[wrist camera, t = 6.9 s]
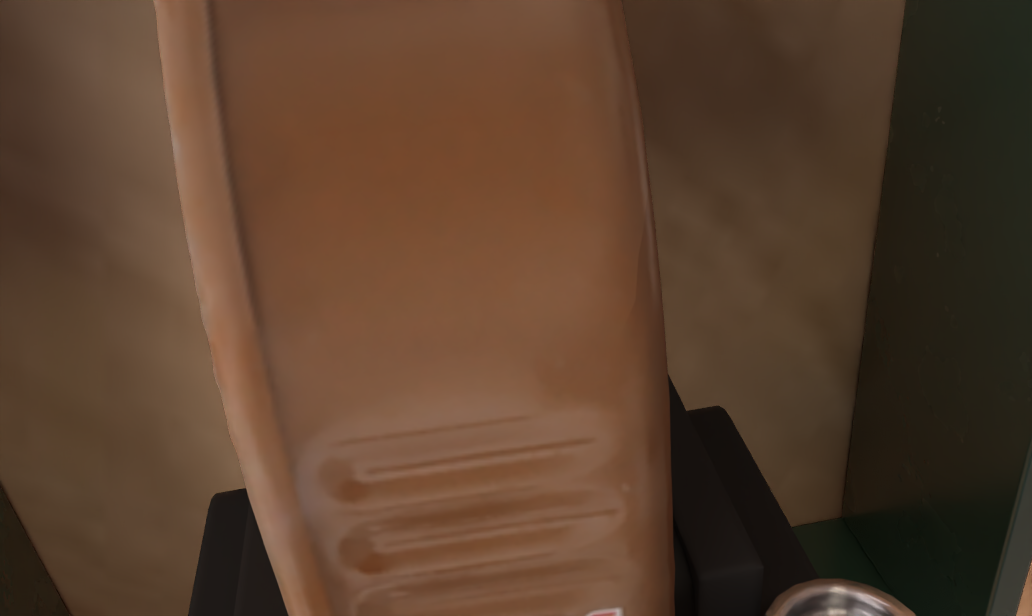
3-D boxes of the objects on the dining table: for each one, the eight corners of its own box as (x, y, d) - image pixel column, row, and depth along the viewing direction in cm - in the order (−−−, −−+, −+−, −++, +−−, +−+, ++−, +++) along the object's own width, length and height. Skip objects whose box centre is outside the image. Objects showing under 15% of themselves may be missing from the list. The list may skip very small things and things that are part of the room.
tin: (262, -272, 10) (-238, -316, 3) (541, -303, 10) (712, -425, 3) (446, 617, 18) (429, 1185, 11) (603, 601, 18) (689, 1163, 11)
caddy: (-481, -308, 10) (-1049, -358, 6) (1002, -460, 12) (1364, -586, 8) (77, 684, 20) (4, 931, 16) (862, 530, 21) (988, 718, 17)
